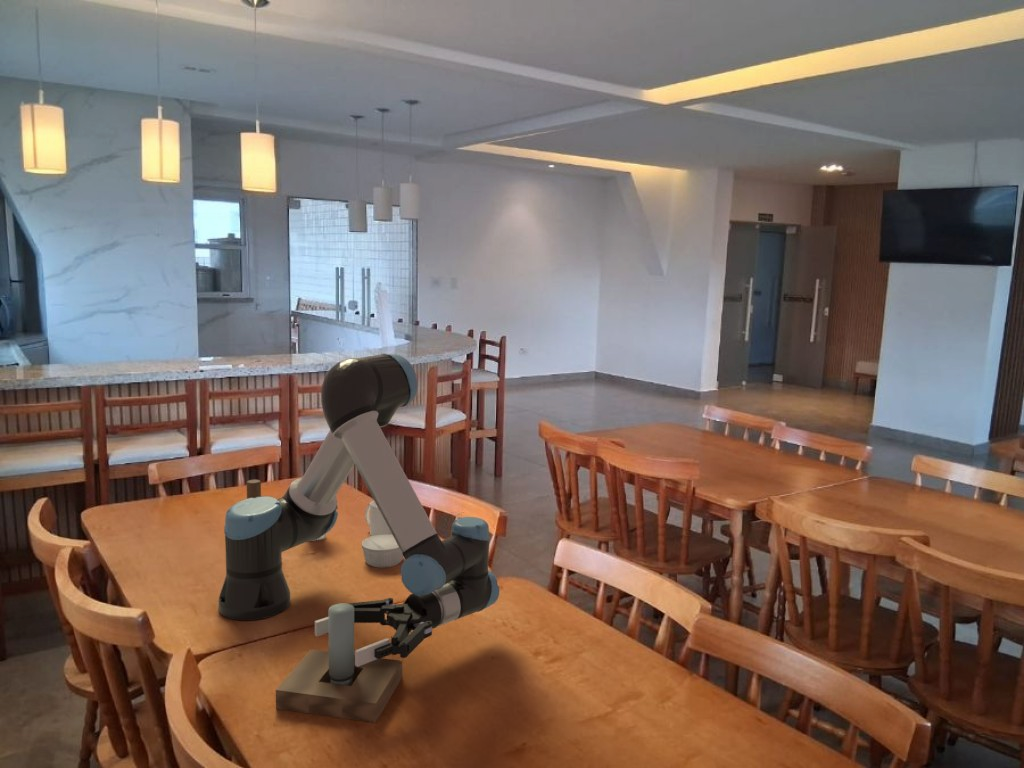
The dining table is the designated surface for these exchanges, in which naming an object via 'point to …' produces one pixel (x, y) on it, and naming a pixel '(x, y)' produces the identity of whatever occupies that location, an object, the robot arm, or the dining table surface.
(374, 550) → the ramekin
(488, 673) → the dining table surface
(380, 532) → the mug
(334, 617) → the grey rounded cylinder
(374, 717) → the board
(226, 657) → the dining table surface
